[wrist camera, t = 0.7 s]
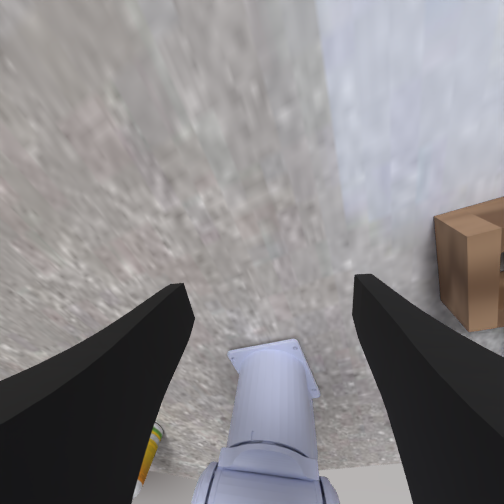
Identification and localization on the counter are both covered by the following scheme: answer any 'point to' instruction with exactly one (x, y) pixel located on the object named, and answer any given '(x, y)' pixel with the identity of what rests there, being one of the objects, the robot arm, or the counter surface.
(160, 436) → the supplement bottle
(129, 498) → the robot arm
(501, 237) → the bore block
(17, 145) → the counter surface
